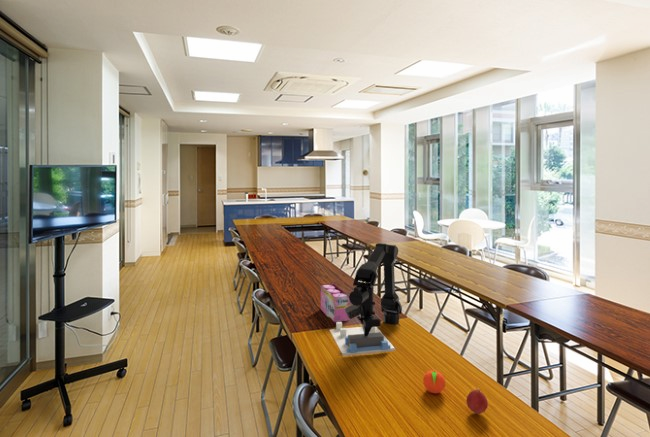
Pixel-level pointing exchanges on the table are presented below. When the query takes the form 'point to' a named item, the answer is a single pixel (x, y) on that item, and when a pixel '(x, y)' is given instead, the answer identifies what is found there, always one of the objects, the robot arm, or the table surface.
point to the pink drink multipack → (334, 302)
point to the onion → (477, 401)
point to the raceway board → (354, 331)
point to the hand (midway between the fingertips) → (366, 335)
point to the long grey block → (366, 339)
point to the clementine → (434, 381)
